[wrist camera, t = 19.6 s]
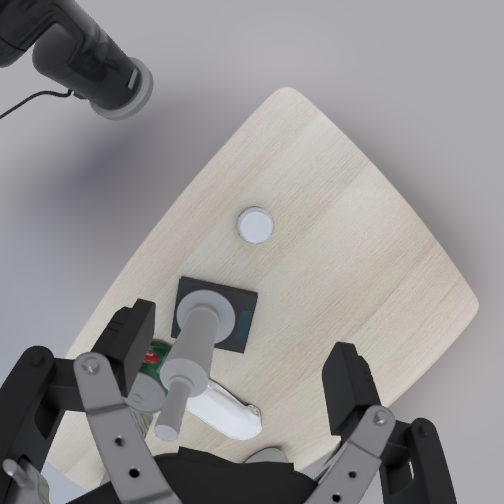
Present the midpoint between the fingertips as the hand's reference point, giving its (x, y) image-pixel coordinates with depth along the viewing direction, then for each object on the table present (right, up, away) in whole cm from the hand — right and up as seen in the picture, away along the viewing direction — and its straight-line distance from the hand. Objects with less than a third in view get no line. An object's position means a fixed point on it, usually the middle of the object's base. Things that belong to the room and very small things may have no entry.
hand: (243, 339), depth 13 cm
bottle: (-7, -6, +32) cm, 34 cm away
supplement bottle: (+1, +8, +33) cm, 34 cm away
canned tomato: (-16, -15, +37) cm, 43 cm away
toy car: (-6, -24, +38) cm, 46 cm away
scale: (-6, -6, +35) cm, 36 cm away
